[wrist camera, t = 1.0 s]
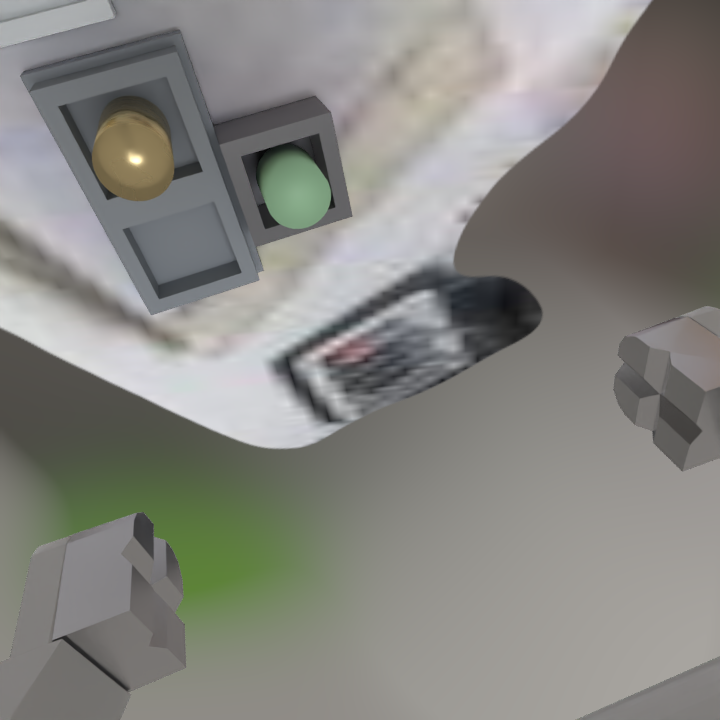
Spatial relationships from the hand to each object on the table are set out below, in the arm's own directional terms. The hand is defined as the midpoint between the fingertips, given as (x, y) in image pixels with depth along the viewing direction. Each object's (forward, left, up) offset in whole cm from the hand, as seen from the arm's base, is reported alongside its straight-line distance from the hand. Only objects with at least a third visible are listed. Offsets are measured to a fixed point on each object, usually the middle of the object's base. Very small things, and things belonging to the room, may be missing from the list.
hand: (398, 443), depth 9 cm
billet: (+2, -6, -31) cm, 32 cm away
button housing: (+7, +2, -33) cm, 33 cm away
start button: (+7, +2, -30) cm, 31 cm away
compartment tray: (+6, -6, -33) cm, 34 cm away
